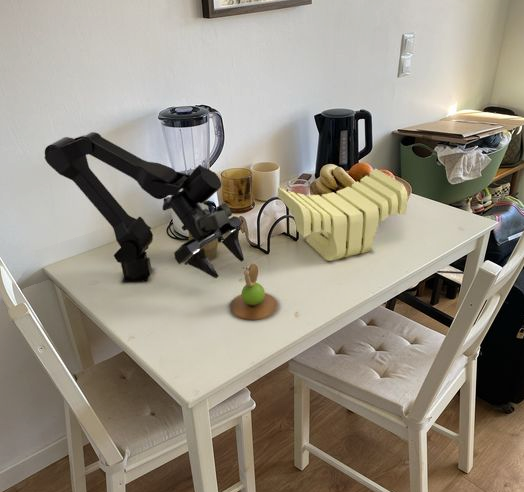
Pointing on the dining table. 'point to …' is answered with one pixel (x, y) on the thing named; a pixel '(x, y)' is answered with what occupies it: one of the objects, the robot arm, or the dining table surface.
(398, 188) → the slatted curved stool
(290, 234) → the dining table surface
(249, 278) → the snail figurine
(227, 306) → the dining table surface
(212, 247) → the squeeze bottle
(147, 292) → the dining table surface
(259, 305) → the plate
